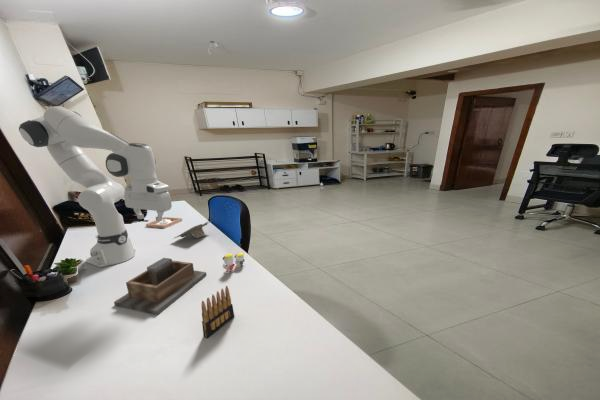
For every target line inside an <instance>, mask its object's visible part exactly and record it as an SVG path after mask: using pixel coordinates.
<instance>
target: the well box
mask: <svg viewBox="0 0 600 400" xmlns="http://www.w3.org/2000/svg"><path fill="white" fill-rule="evenodd" d="M172 264H173V270H174V274H173V275H172V276H170V277H169V278H167V279H166V280H164V281H163V282H161V283H160V284H159V285H157V286H155V285H150V281H149V276H148V271H147V270H145V271H143V272H142V273H140V274H138V275H137V276H135V277H133V278H131V279H130V280H128V281H126V282H125V284H126V289H127V292H128V293H126V294H125V295H122V296H121V297H119V298H118V299H116V300H115V301H113V304H114V306H115V307H119V308H125V309H128V310H133V311H138V312H143V313H147V314H151V315H157V316H158V315H160V314H161V313H162V312H163V311H165V310H166V309H167V308H168V307H170V306H171V305H172V304H173V303H174V302H176V300H178V299H179V298H181V297H182V296H183V295H184V294H186V292H188V291H189V290H190V289H191V288H193V287H195V285H197V284H198V283H200V281H202V280H203V279H204V278H205V277H206V276H207V272H206V271H199V270H195V269H194V263H193V262H187V261H186V262H185V261H178V260H173V259H172Z"/></svg>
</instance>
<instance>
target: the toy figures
mask: <svg viewBox="0 0 600 400" xmlns="http://www.w3.org/2000/svg"><path fill="white" fill-rule="evenodd" d="M234 259H235V261H234ZM245 260H246V259H245V255H244V253H243V252H238V253H236V254H235V255H233V253H226V254H225V255H224V256H222V261H223V262H224V263H223V264H222V268H223V269H225V270H223V274H229V273H230V272H232V271H233V270H234V267H235V268H240V267H241V266H243V265H244V262H245Z"/></svg>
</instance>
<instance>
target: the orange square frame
mask: <svg viewBox="0 0 600 400" xmlns="http://www.w3.org/2000/svg"><path fill="white" fill-rule="evenodd" d="M162 219H167V220H168V219H170V220H171V221H172V222H170V223H168V224H166V225H158V224H157V223H159V221H156V219H155V220H152V221H150V222H148V223H146V224H145V227H146V228H155V229H167V228H170V227H171V226H174V225H175V224H178V223H181V222H183V218H182V217H173V216H172V217H170V216H169V217H168V216H162Z"/></svg>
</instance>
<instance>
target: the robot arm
mask: <svg viewBox="0 0 600 400" xmlns="http://www.w3.org/2000/svg"><path fill="white" fill-rule="evenodd" d="M18 132H19V133H20V137H22V138H23V140H24V141H25V142H27V143H28V144H29V145H30V146H32V147H36V148H43V147H46V149H47V151H48V152H49V154H50V156H51V157H52V158H53V160H54V161H55V162H56V164H57V165H58V166H59V167H60V168H61V170H62V171H63V172H64V173H65V174H66V175H67V176H68V177H69V179H70V180H72V181H73V182H75V183H76V184H79V185H81V186H82V187H85V189H84V190H82V191H81V192H80V193H79V195H78V197H77V200H78V204H79V206H80V207H82V208H83V209H84V210H86V211H87V212H88V213H89V214H90V216H91V217H92V218H93V222H94V223H95V228H96V231H97V235H95V239H97V241H96V243H95V244H94V245H93V246H92V247H91V248H90V250H89V257H87V258H86V259H85V263H88V264H91V265H93V266H95V267H97V268H104V267H107V266H113V265H118V264H121V263H124V262H126V261H129V260H131V259H133V257H135V255H136V254H135V253H136V252H137V251H136V248H134V246H133V244H132V240H131V239H130V237H129V233H128V231H127V229H126V227H125V222H124V217H123V215H122V214H121V213H119V212H118V210H117V208H116V206H115V203H117V202H120V200H121V199H122V198H124V205H125V207H126V208H127V209H128V208H130V209H133V212H134V213H135V214H136V217H137V219H138V220H142V219H144V218H145V215H144V213H142V211H141V210H146V211H153V212H154V211H155V212H156V214H157V216H155V220H156V221H159V222H160V221H162V218H163V217H164V214H165V212H167V211H170V210H171V209H172V208H173V207H172V206H173V204H172V198H171V194H170V192H169V190H170V186H169V185H168V184H167V183H164V182H162V181H160V180H158V176H157V173H156V169H157V165H156V164H157V161H156V158H155V155H154V152H153V149H152V147H151V146H150V145H148V144H145V143H139V142H132V143H131V142H128V141H126V140H124V139H123V138H120V137H119V136H118V135H115V134H113V133H111V132H109V131H107V130H105V129H103V128H101V127H99V126H97V125H95V124H94V123H92V122H90V121H89V120H87V119H86V118H85V117H83V116H82V115H81V114H80V113H78V112H77V111H73V110H70V109H68V108H66V107H63V106H60V105H57V106H55V105H54V106H51V107H48V108H46V110H45V111H44V113H43V116H40V117H37V118H34V119H31V120H26V121H23V122H22V123H20V124H19V126H18ZM82 148H83V149H95V150H99V149H101V150H106V151H111V153H109V154H108V155H107V156H106V158H105V168H106V170H107V172H108V173H109V174H110V175H112V176H113V177H116V178H126V177H130V184H127V185H126V186H125V187H124V186H123V185H122V184H121V183H119V182H117V181H115V180H113V179H112V178H110V176H108V175H107V174H105V172H103V171H102V170H100V169H99V167H98V166H97V165H96V164H95V163H94V162H93V161H92V159H91V158H90V157H89V156H88V155H87V153H85V151H84V150H83V149H82Z"/></svg>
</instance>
